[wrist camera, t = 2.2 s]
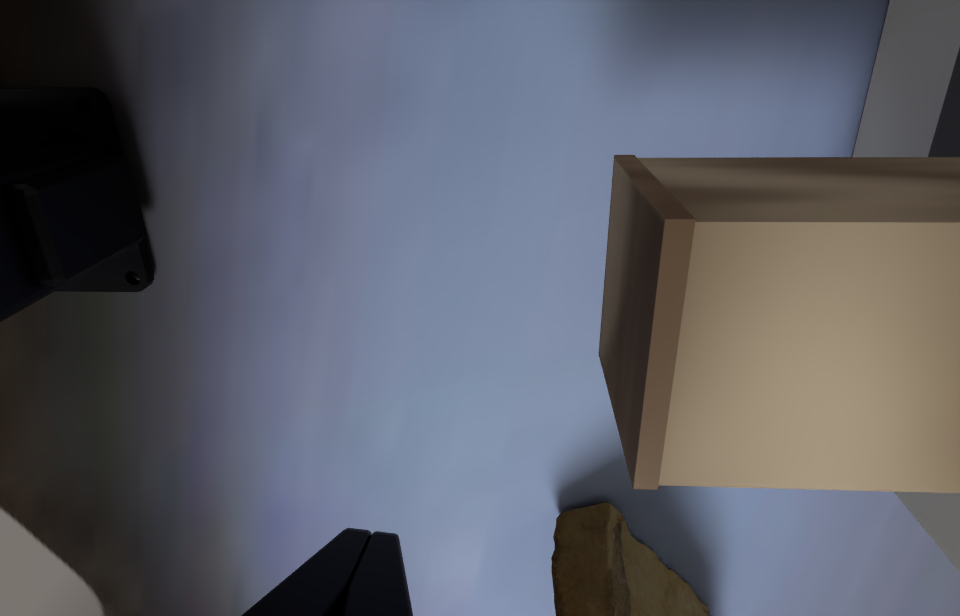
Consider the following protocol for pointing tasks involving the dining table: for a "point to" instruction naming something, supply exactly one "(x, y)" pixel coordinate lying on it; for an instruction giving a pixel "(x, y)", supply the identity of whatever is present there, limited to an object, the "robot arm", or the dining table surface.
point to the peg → (785, 322)
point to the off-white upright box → (918, 153)
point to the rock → (612, 570)
